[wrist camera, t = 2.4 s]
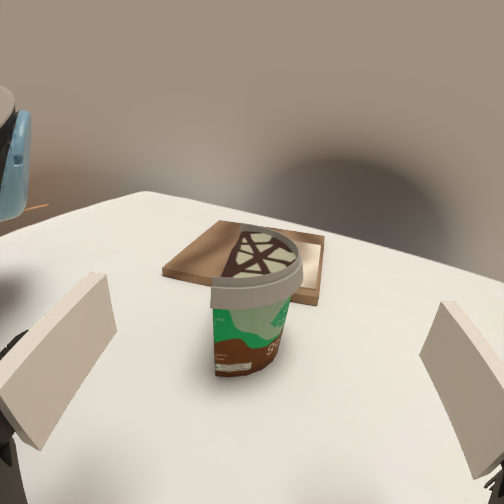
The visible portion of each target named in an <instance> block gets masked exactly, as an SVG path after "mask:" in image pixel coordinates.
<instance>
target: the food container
mask: <svg viewBox="0 0 504 504" xmlns="http://www.w3.org/2000/svg"><path fill="white" fill-rule="evenodd" d="M302 282H303V263H302V257H301V254H300V251H299V247H298V246H297V244H296V243H295V242H294V241H293V240H292V239H290V238H289V237H287V236H286V235H284V234H282V233H280V232H277V231H275V230H272V229H269V228H265V227H261V226H257V225H251V224H244V223H241V226H240V236H239V239H238V241H237V243H236V244H235V246H234V247H233V248H232V250H231V252H230V255H229V258H228V260H227V263H226V265H225V267H224V270H223V272H222V274H221V276H220V277H216V276H213V277H212V287H211V303H210V308H213V330H214V356H215V376H222V377H236V376H245V375H249V374H252V373H254V372H257V371H260V370H262V369H263V368H265V367H266V366H267V365H268V364H270V363H271V362H272V361H273V359H274V358H275V356H276V354H277V351H278V347H279V343H280V339H281V335H282V332H283V328H284V324H285V320H286V315H287V311H288V307H289V303H290V299H291V295H292V294H294V293H295V292H296V291H297V290H298V289H299V288H300V286H301V284H302Z"/></svg>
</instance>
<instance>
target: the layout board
mask: <svg viewBox="0 0 504 504" xmlns="http://www.w3.org/2000/svg"><path fill="white" fill-rule="evenodd" d="M240 226H241V223H235V222H228V221H221V220H219V221H218V222H217V223H215V224H214V225H213V226H212V227H211V228H209V229H208V230H207V231H206V232H204V233H203V234H202V235H201V236H200V237H198V238H197V239H196V240H195V241H193V242H192V243H191V244H190V245H189V246H187V247H186V248H185V249H184V250H183V251H181V252H180V253H179V254H178V255H177V256H176V257H174V258H173V259H172V260H171V261H170V262H168V263H167V264H166V265H165V266H164V267H163V268H162V272H163V276H165V277H170V278H174V279H179V280H183V281H188V282H193V283H198V284H202V285H207V286H212V277H213V276H216V277H220V276H221V274H222V272H223V270H224V267H225V265H226V263H227V260H228V258H229V255H230V252H231V250H232V248H233V247H234V246H235V244H236V243H237V241H238V239H239V236H240ZM261 227H263V226H261ZM265 228H269V227H265ZM269 229H272V230H275V231H277V232H280V233H282V234H284V235H286V236H287V237H289V238H290V239H292V240H293V241H294V242H295V243H296V244H297V246H298V247H299V251H300V254H301V257H302V263H303V282H302V284H301V286H300V288H299V289H298V290H297V291H296V292H295V293H294V294H292V295H291V299H290V301H291V302H296V303H302V304H308V305H314V306H317V304H318V299H319V291H320V281H321V271H322V261H323V250H324V237H325V236H321V235H315V234H308V233H302V232H296V231H289V230H283V229H276V228H269Z"/></svg>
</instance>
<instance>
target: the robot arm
mask: <svg viewBox="0 0 504 504" xmlns="http://www.w3.org/2000/svg"><path fill="white" fill-rule="evenodd" d="M0 3H1V0H0ZM30 141H31V116H30V113H29V112H28V111H23V110H19V111H18V112H15V102H14V96H13V94H12V93H11V91H10V90H8V89H7V88H5V87H3V86H1V85H0V222H1V221H4V220H8V219H11V218H15V217H17V216H19V215H20V214H21V213H22V212H23V210H24V208H25V206H26V202H27V193H28V177H29V159H30ZM116 332H117V329H116V325H115V320H114V315H113V310H112V305H111V300H110V294H109V288H108V283H107V276H106V274H101V273H94V272H90V273H89V274H88V275H87V276H85V277H84V278H83V279H82V280H81V281H80V282H79V283H78V284H77V285H75V286H74V287H73V288H72V289H71V290H70V291H69V292H68V293H67V294H66V295H65V296H64V297H63V298H61V299H60V300H59V301H58V302H57V303H56V304H55V305H54V306H53V307H52V308H51V309H50V310H49V311H48V312H47V313H46V314H45V315H44V316H43V317H42V318H41V319H40V320H39V321H38V322H37V323H36V324H35V325H34V326H33V327H32V328H31V329H30V330H26V331H24V332H22V333H21V334H19V335H17V336H16V337H15V338H14V339H13V340H12V341H11V342H10V343H9V344H8V345H7V348H6V347H5V348H4V349H3V350H2V351H1V352H0V504H28V503H27V500H26V496H25V492H24V488H23V483H22V479H21V474H20V469H19V464H18V458H17V452H16V445H15V442H14V439H13V438H12V435H13V434H14V432H16V433H17V434H18V436H19V437H20V438H21V440H22V441H23V442H24V443H26V444H28V445H30V446H32V447H33V448H35V449H37V450H39V451H41V450H42V448H43V446H44V444H45V443H46V441H47V439H48V437H49V436H50V434H51V432H52V431H53V429H54V427H55V426H56V424H57V422H58V421H59V419H60V417H61V416H62V414H63V412H64V411H65V409H66V408H67V406H68V404H69V403H70V401H71V400H72V398H73V396H74V395H75V393H76V392H77V390H78V389H79V387H80V385H81V384H82V382H83V381H84V379H85V378H86V376H87V375H88V373H89V372H90V370H91V369H92V367H93V366H94V364H95V363H96V361H97V360H98V358H99V357H100V355H101V354H102V352H103V351H104V349H105V348H106V346H107V345H108V344H109V342H110V341H111V339H112V338H113V336H114V335H115V333H116ZM419 356H420V358H421V360H422V362H423V364H424V366H425V368H426V370H427V372H428V374H429V376H430V378H431V380H432V382H433V384H434V386H435V388H436V390H437V392H438V394H439V396H440V399H441V401H442V403H443V405H444V407H445V410H446V412H447V414H448V416H449V419H450V421H451V423H452V426H453V428H454V430H455V433H456V435H457V438H458V440H459V443H460V445H461V448H462V450H463V453H464V455H465V458H466V461H467V463H468V466H469V469H470V472H471V474H472V477H473V480H475V479H478V478H480V477H483V476H485V475H488V474H490V473H491V472H492V471H493V470H494V469H495V468H496V467H497V466H498V465H499V464H501V466H502V470H500V471H499V472H498V473H497V474H496V475H495V476H494V477H493V478H491V479H490V480H489V481H488V482H487V483H486V484H485V486H484V488H485V489H486V488H487V487H488V486H490V485H491V484H492V483H493V482H494V481H495V484H494V485H493V486H492V487H491V488H490V489H489V490H491V491H492V493H491V496H490V499H489V502H488V504H504V364H503V362H502V361H501V360H500V358H499V357H498V355H497V354H496V353H495V351H494V350H493V349H492V347H491V346H490V345H489V343H488V342H487V341H486V339H485V338H484V337H483V335H482V334H481V333H480V332H479V330H478V329H477V328H476V327H475V325H474V324H473V323H472V322H471V320H470V319H469V318H468V317H467V315H466V314H465V313H464V312H463V311H462V309H461V308H460V307H459V306H458V305H457V303H456V302H443V301H441V303H440V306H439V308H438V311H437V314H436V316H435V319H434V321H433V324H432V326H431V329H430V331H429V334H428V336H427V338H426V341H425V343H424V345H423V348H422V350H421V352H420V354H419Z"/></svg>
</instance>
